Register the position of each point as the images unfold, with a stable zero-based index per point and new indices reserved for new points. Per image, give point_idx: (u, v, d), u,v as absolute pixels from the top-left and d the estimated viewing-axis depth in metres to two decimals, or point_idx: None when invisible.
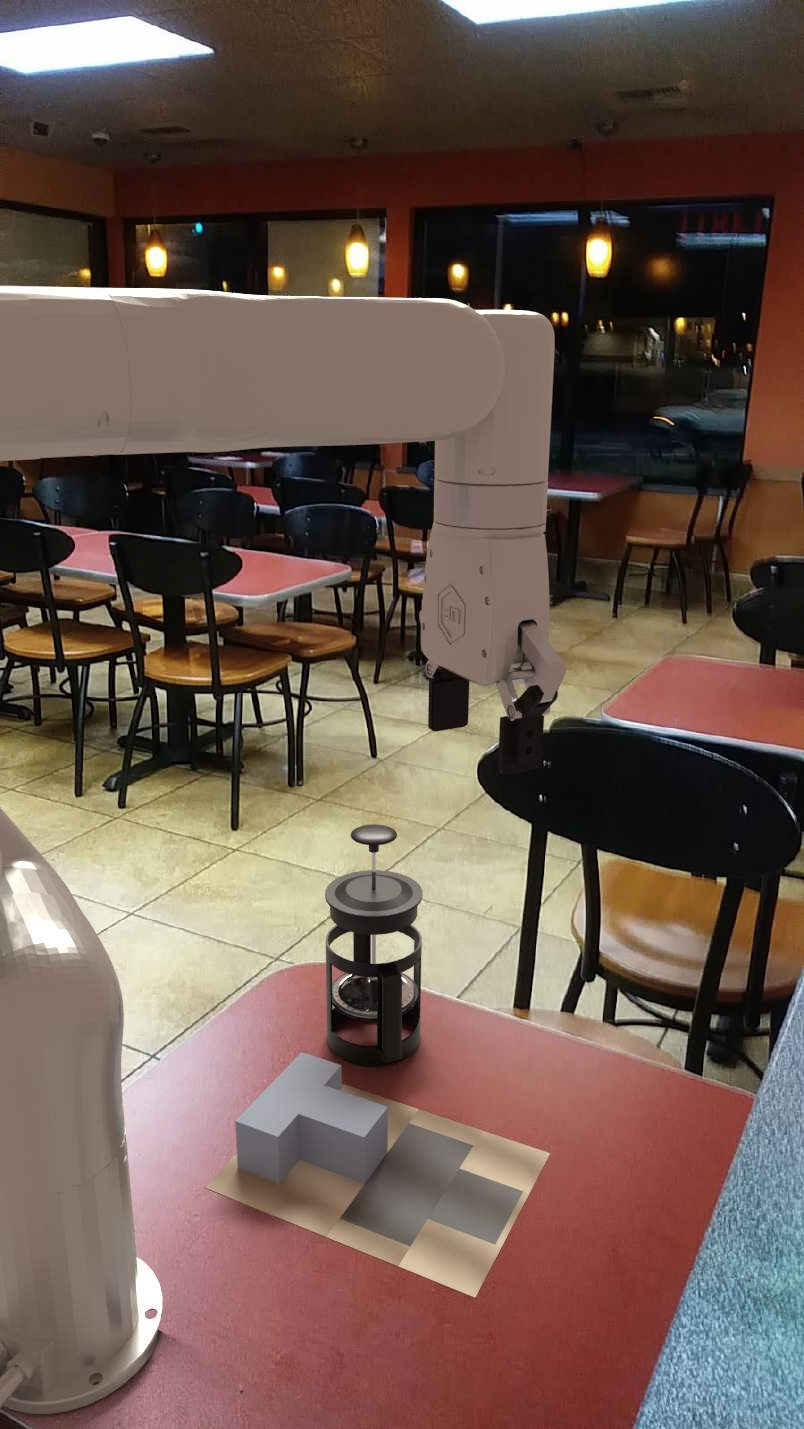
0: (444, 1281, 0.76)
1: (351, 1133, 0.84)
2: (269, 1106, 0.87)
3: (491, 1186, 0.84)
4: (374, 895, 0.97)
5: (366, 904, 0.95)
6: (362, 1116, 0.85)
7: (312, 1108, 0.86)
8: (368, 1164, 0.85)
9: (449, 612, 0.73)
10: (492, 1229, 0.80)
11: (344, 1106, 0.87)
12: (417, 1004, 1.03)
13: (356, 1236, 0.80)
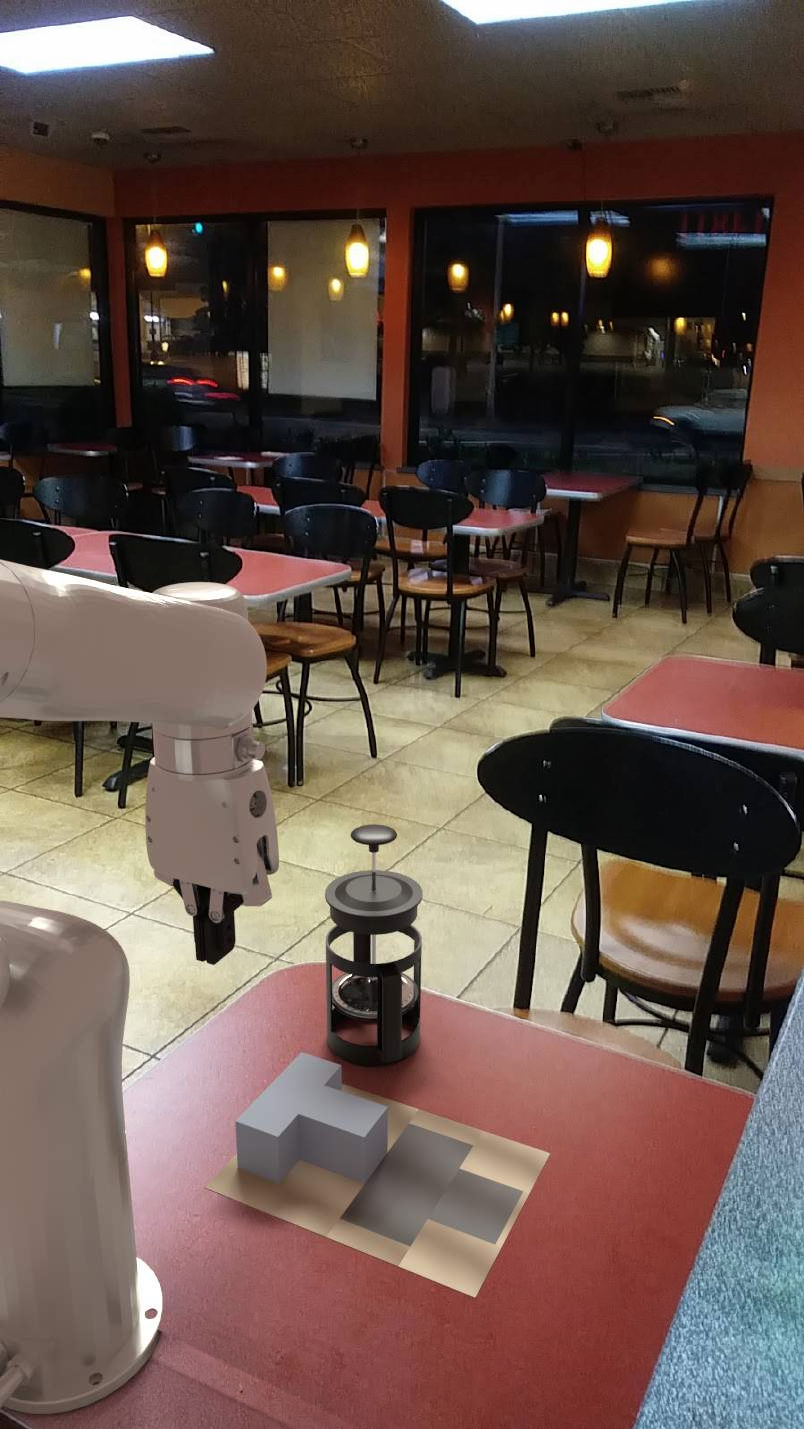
0: (444, 1281, 0.76)
1: (351, 1133, 0.84)
2: (269, 1106, 0.87)
3: (491, 1186, 0.84)
4: (374, 895, 0.97)
5: (366, 904, 0.95)
6: (362, 1116, 0.85)
7: (312, 1108, 0.86)
8: (368, 1164, 0.85)
9: None
10: (492, 1229, 0.80)
11: (344, 1106, 0.87)
12: (417, 1004, 1.03)
13: (356, 1236, 0.80)
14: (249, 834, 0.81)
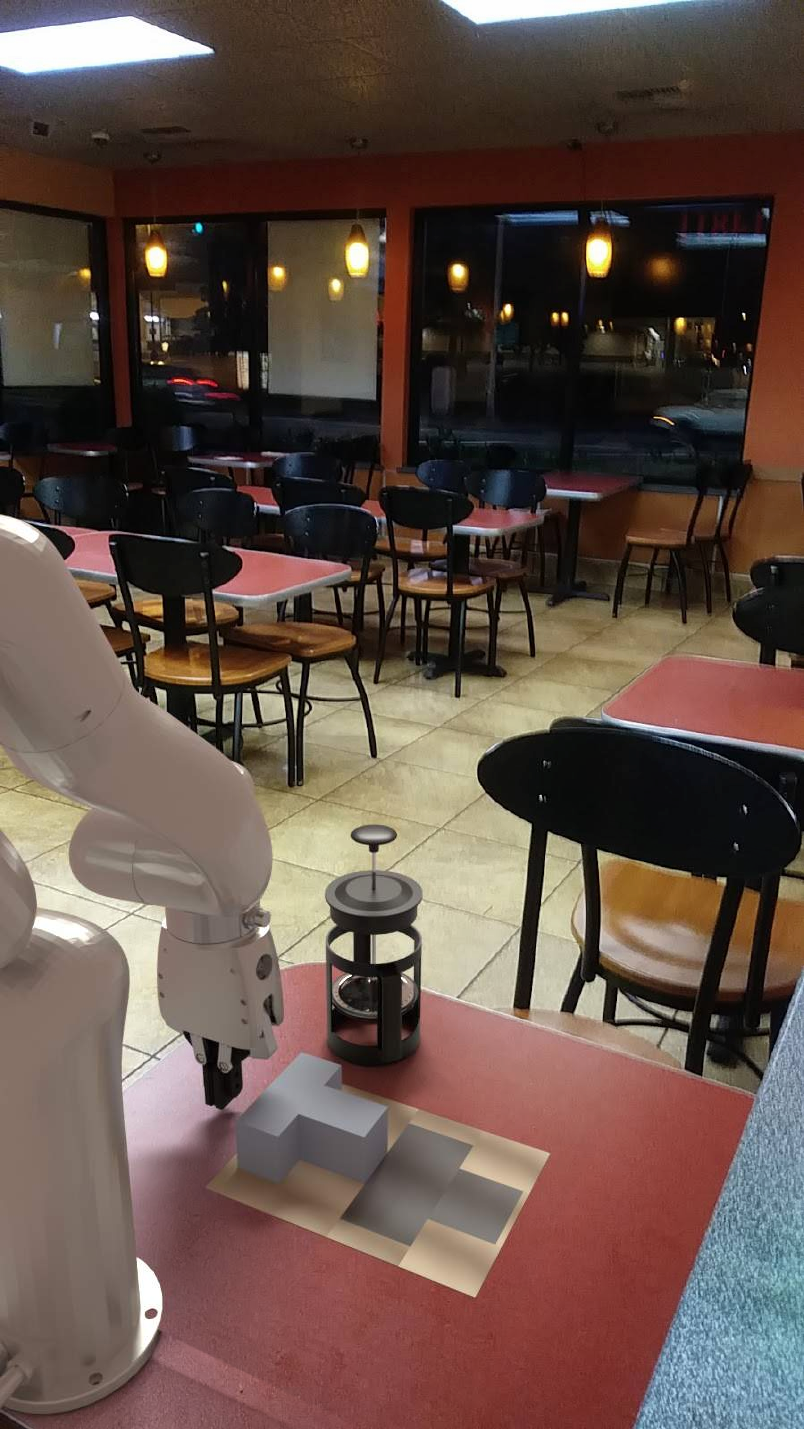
0: (444, 1281, 0.76)
1: (351, 1133, 0.84)
2: (269, 1106, 0.87)
3: (491, 1186, 0.84)
4: (374, 895, 0.97)
5: (366, 904, 0.95)
6: (362, 1116, 0.85)
7: (312, 1108, 0.86)
8: (368, 1164, 0.85)
9: None
10: (492, 1229, 0.80)
11: (344, 1106, 0.87)
12: (417, 1004, 1.03)
13: (356, 1236, 0.80)
14: (256, 996, 0.85)
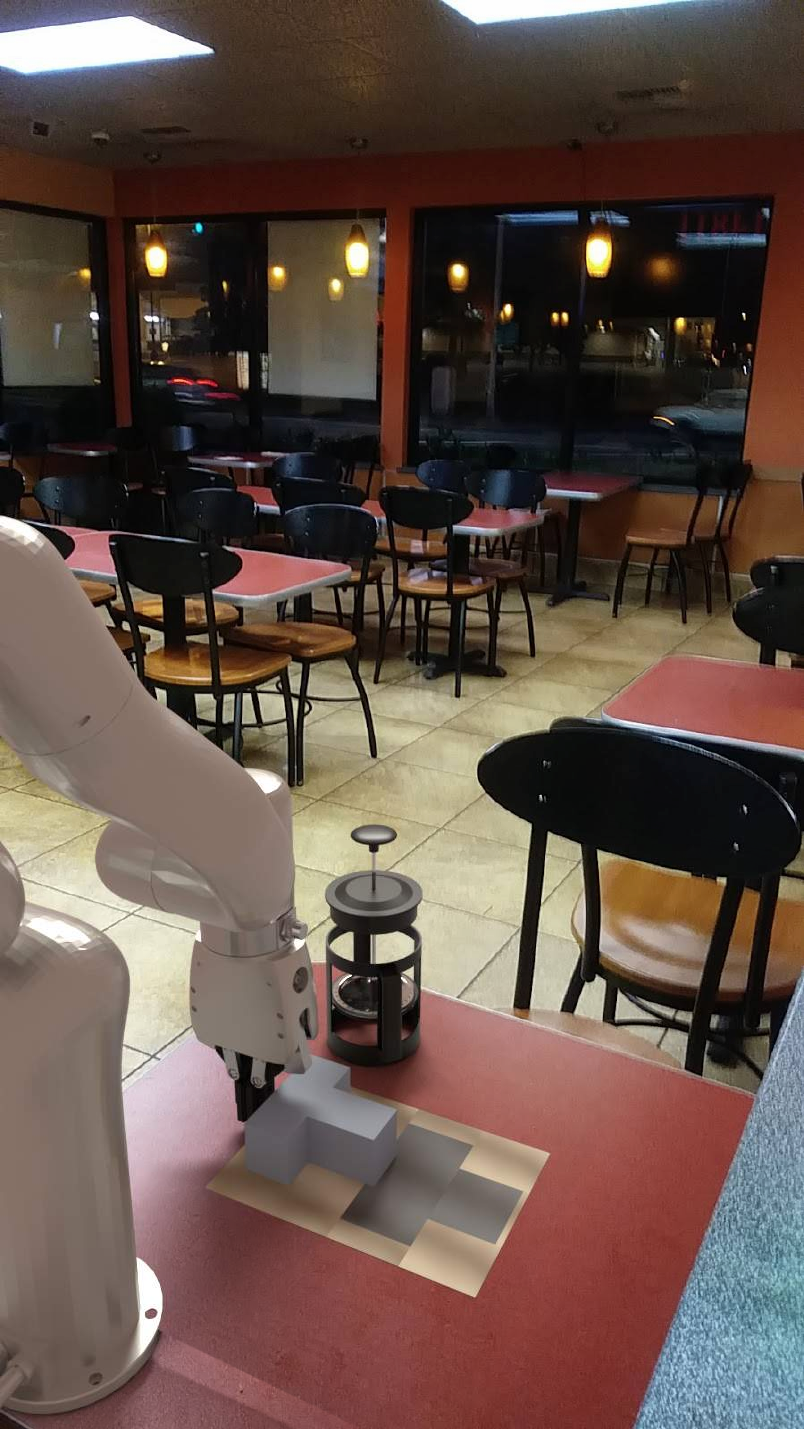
0: (444, 1281, 0.76)
1: (360, 1136, 0.83)
2: (278, 1108, 0.86)
3: (491, 1186, 0.84)
4: (374, 895, 0.97)
5: (366, 904, 0.95)
6: (371, 1119, 0.85)
7: (321, 1110, 0.86)
8: (377, 1167, 0.84)
9: None
10: (492, 1229, 0.80)
11: (353, 1108, 0.86)
12: (417, 1004, 1.03)
13: (356, 1236, 0.80)
14: (292, 1010, 0.84)
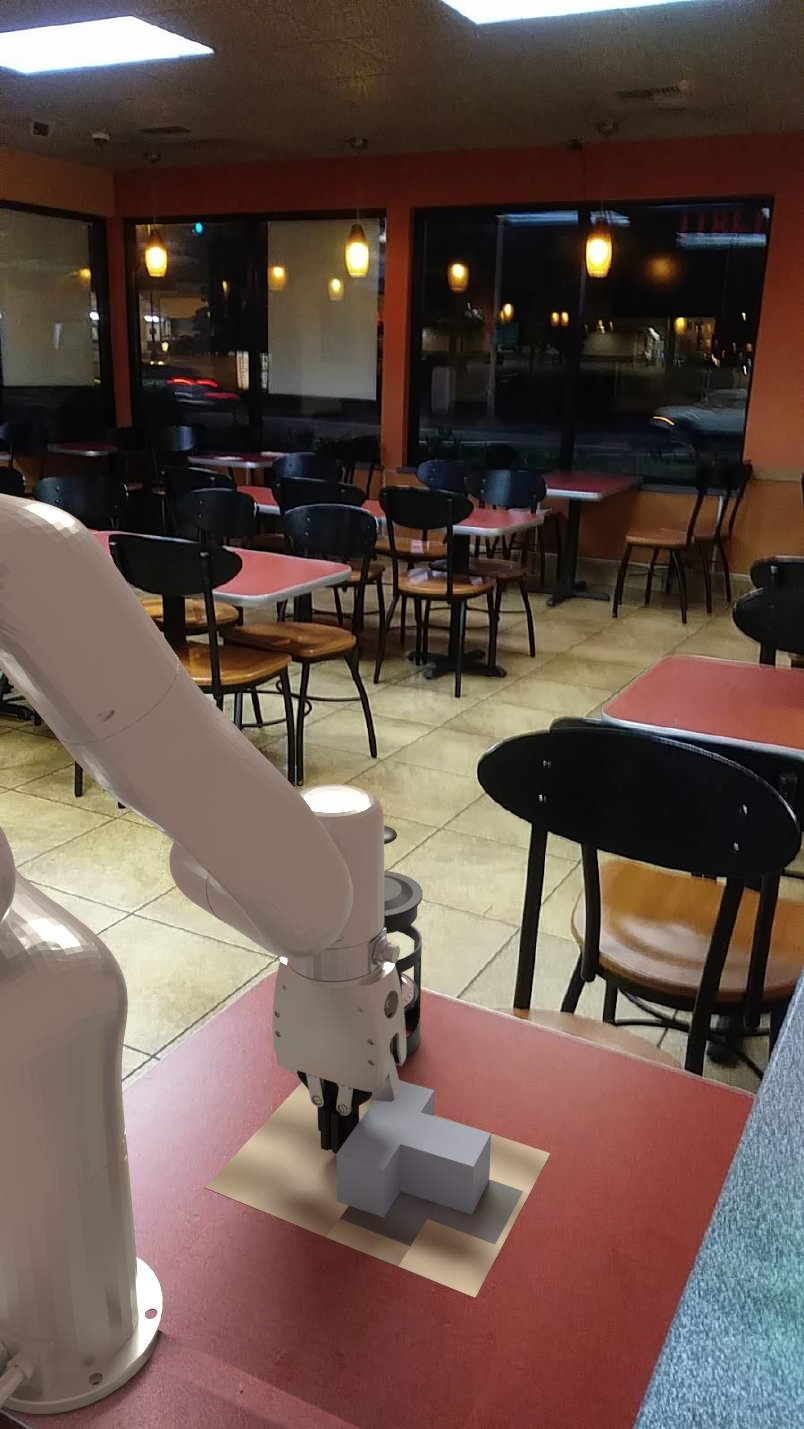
0: (444, 1281, 0.76)
1: (459, 1162, 0.81)
2: (369, 1137, 0.83)
3: (491, 1186, 0.84)
4: None
5: None
6: (467, 1144, 0.82)
7: (414, 1137, 0.83)
8: (475, 1194, 0.82)
9: None
10: (492, 1229, 0.80)
11: (446, 1134, 0.84)
12: (417, 1004, 1.03)
13: (356, 1236, 0.80)
14: (384, 1036, 0.81)
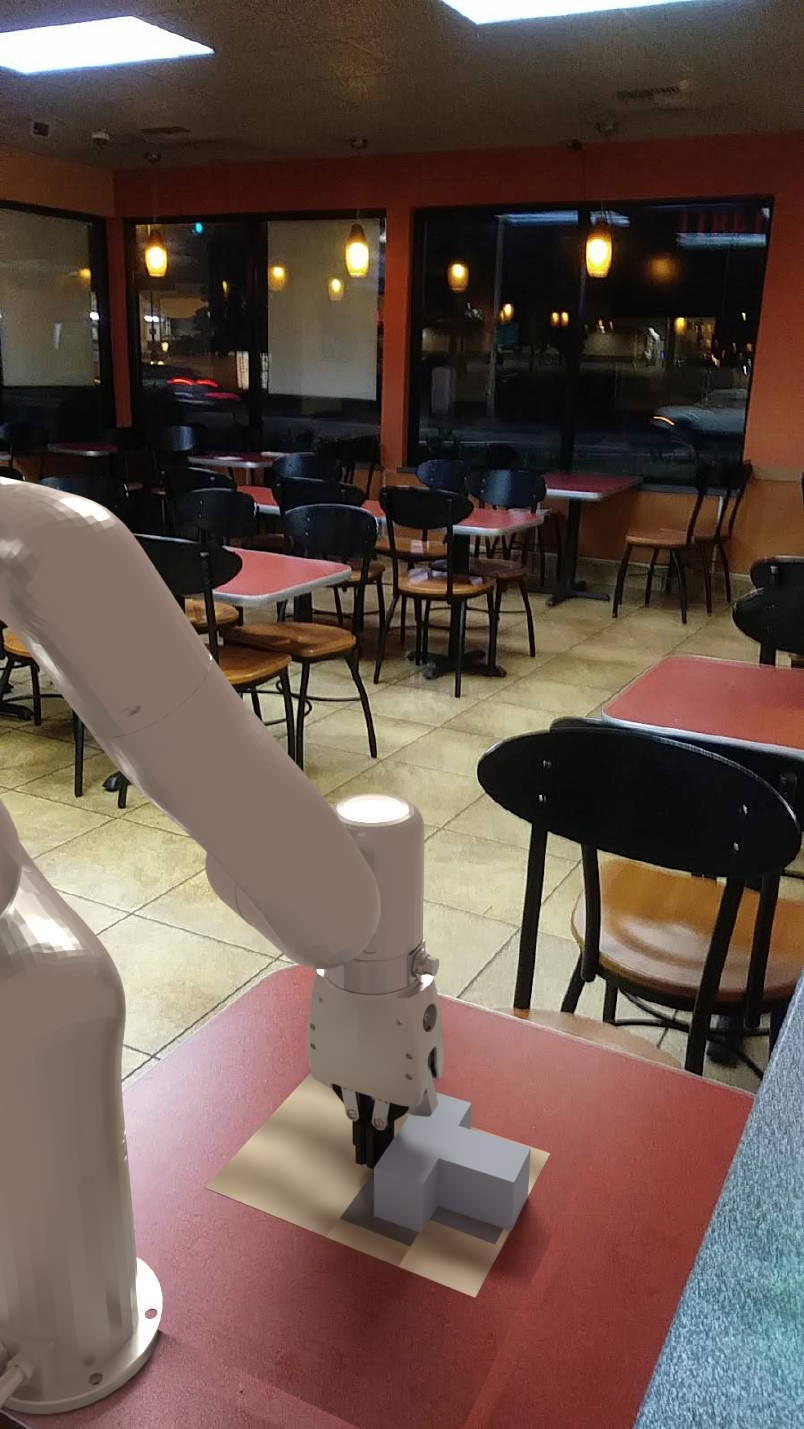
0: (444, 1281, 0.76)
1: (499, 1178, 0.79)
2: (406, 1150, 0.82)
3: None
4: None
5: None
6: (506, 1159, 0.81)
7: (452, 1151, 0.82)
8: (515, 1210, 0.80)
9: None
10: (492, 1229, 0.80)
11: (485, 1148, 0.82)
12: None
13: (356, 1236, 0.80)
14: (422, 1050, 0.79)
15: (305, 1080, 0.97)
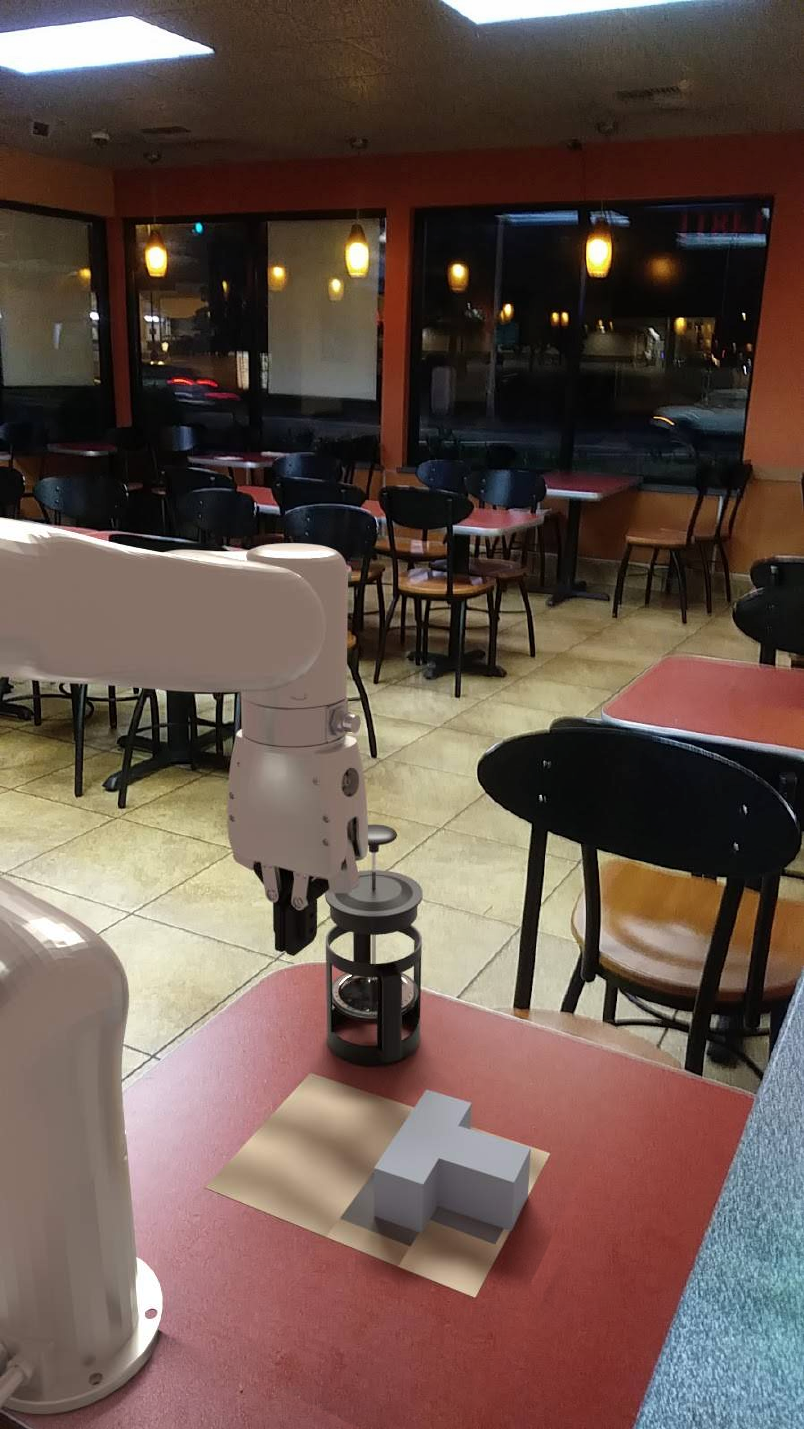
0: (444, 1281, 0.76)
1: (499, 1178, 0.79)
2: (406, 1150, 0.82)
3: None
4: (374, 895, 0.97)
5: (366, 904, 0.95)
6: (506, 1159, 0.81)
7: (452, 1151, 0.82)
8: (515, 1210, 0.80)
9: None
10: (492, 1229, 0.80)
11: (485, 1148, 0.82)
12: (417, 1004, 1.03)
13: (356, 1236, 0.80)
14: (340, 814, 0.75)
15: (305, 1080, 0.97)
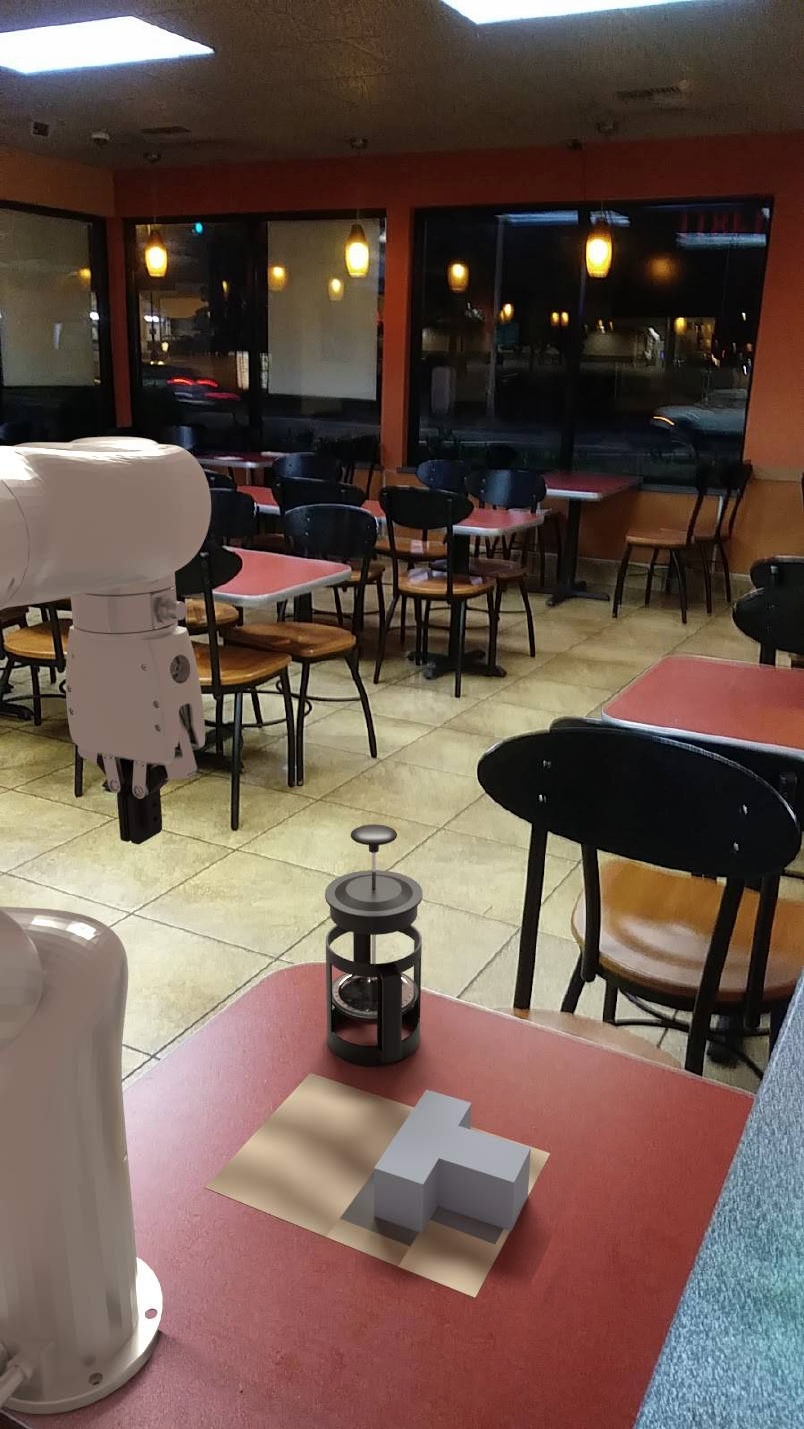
0: (444, 1281, 0.76)
1: (499, 1178, 0.79)
2: (406, 1150, 0.82)
3: None
4: (374, 895, 0.97)
5: (366, 904, 0.95)
6: (506, 1159, 0.81)
7: (452, 1151, 0.82)
8: (515, 1210, 0.80)
9: None
10: (492, 1229, 0.80)
11: (485, 1148, 0.82)
12: (417, 1004, 1.03)
13: (356, 1236, 0.80)
14: (170, 699, 0.78)
15: (305, 1080, 0.97)
